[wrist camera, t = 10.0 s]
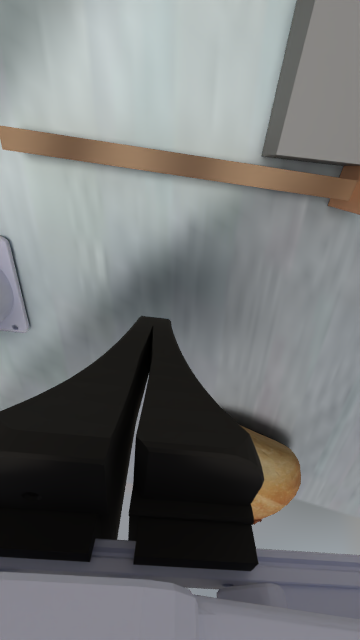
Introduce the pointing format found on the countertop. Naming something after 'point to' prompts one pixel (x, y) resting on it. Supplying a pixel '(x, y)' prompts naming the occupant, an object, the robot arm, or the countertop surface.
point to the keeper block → (319, 87)
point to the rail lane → (189, 165)
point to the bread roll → (274, 476)
